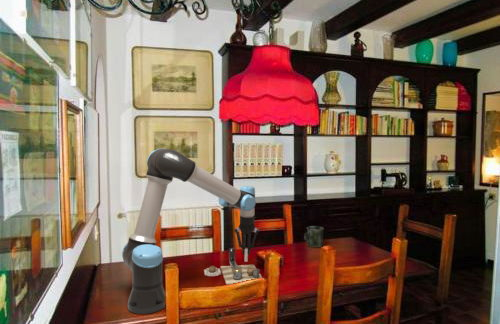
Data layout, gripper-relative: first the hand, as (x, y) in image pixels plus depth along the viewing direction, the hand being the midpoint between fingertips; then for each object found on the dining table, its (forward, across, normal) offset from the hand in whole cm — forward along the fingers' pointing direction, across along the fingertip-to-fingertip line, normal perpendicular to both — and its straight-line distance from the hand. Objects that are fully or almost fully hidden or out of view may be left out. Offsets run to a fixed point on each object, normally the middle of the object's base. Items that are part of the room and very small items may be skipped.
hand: (246, 260), depth 181 cm
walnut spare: (+5, +16, +8) cm, 19 cm away
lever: (+4, +4, +8) cm, 10 cm away
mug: (+5, -40, -50) cm, 64 cm away
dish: (+6, +16, +8) cm, 19 cm away
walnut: (+4, -4, +11) cm, 12 cm away
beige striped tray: (+5, +2, +8) cm, 9 cm away
